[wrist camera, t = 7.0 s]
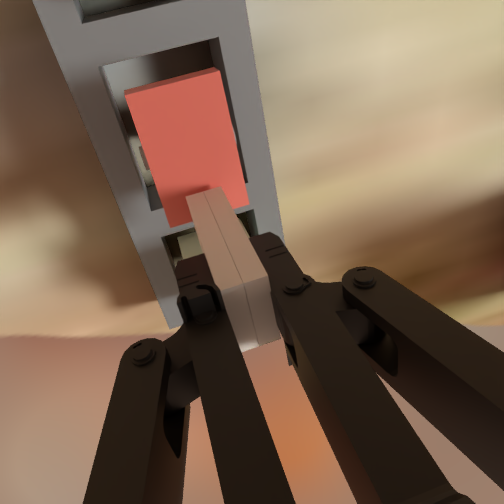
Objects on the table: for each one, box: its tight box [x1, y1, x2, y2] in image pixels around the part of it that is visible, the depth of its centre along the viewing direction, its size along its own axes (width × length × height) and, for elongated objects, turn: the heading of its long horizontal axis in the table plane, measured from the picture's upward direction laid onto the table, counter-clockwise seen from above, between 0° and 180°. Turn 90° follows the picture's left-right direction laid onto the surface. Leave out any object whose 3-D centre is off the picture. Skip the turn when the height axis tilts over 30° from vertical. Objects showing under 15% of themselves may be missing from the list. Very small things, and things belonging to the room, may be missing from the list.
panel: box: [32, 0, 285, 329], centre depth 21 cm, size 23×8×4 cm, turn 11°
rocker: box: [124, 67, 249, 228], centre depth 18 cm, size 6×4×2 cm
